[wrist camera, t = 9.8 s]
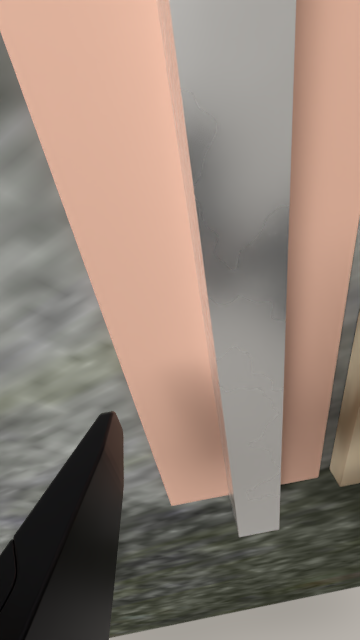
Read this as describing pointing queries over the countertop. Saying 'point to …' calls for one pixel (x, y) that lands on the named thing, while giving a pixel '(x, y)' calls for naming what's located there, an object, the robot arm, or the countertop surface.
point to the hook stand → (349, 424)
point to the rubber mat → (172, 217)
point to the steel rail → (238, 220)
